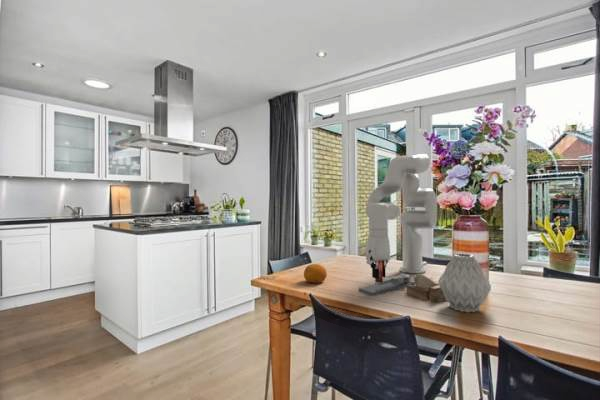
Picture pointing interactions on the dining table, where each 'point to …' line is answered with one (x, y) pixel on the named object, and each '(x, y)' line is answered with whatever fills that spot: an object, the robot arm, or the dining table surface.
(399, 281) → the lever
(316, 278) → the fruit
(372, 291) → the flat grey bar
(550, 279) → the dining table surface
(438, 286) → the cradle
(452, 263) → the vase
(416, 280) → the stone
